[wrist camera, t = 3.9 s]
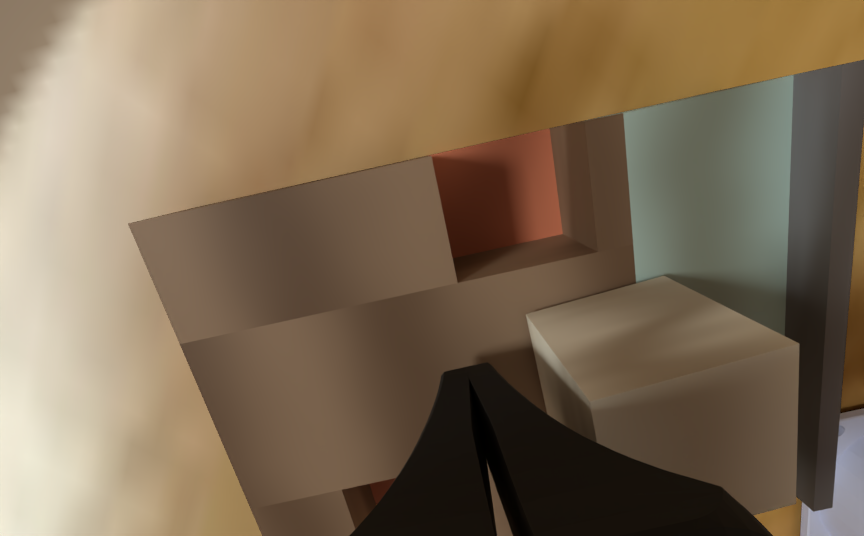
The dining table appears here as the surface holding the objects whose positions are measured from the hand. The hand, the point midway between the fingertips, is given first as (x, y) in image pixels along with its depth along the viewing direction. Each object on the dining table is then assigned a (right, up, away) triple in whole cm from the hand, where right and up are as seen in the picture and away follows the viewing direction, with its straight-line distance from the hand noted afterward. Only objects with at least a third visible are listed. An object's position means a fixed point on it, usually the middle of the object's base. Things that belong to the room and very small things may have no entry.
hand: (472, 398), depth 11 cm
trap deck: (+1, +1, +4) cm, 4 cm away
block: (+4, +1, +1) cm, 4 cm away
